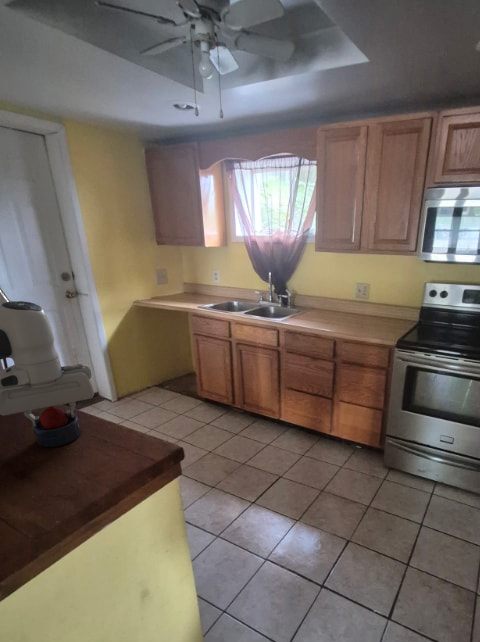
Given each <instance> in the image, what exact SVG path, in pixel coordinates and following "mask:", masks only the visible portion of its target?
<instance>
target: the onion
mask: <svg viewBox="0 0 480 642" xmlns="http://www.w3.org/2000/svg"><path fill="white" fill-rule="evenodd" d="M39 418H40V423H41V425H42V427H43V428H45V429H47V430H53V429H58V428H61V427H64V426H66V424H67V422H68V418H67V415H66V411H65V410H63V409H62V408H61V407H57V406H51V407H46V408H45V409H44V410H43V411H42V412H41V415H40V416H39Z"/></svg>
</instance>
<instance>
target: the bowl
mask: <svg viewBox="0 0 480 642" xmlns="http://www.w3.org/2000/svg"><path fill="white" fill-rule="evenodd" d="M73 414H74V418H69V419H68V422H67V424H66V426H64V427H61V428H58V429H53V430H47V429H45V428H43V427H42V425H36V426H34V425H33V424H32V425H31V428H32V431H33V434H34V437H35V441H36V443H37V445H39V446H40V447H46V448H56V447H62V446H65V445H68V444H70V443H72V442H74V441H75V440H76V439H78V437H80V436H81V433H82V429H81V425H80V421H79V418H78V417H79V416H77V414H76V413H74V412H73ZM66 415H67V414H66Z"/></svg>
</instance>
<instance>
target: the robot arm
mask: <svg viewBox="0 0 480 642" xmlns="http://www.w3.org/2000/svg"><path fill="white" fill-rule="evenodd" d="M54 342H55V338H54V334H53V330H52V327H51V324H50V321H49V318H48V316H47V313H46V312H45V310H44V309H43V307H41V306H40V305H39V304H37V303H34V302H30V301H22V300H18V301H17V300H15V301H13V300H12V299H11V298H10V297H9V295H8V294H7V293H6V291H5V290H4V289H3V288H2V286H1V285H0V361H1V360H5V359H11V360H12V362H13V364H12V365H11V366H8V367H5V368H3V369H1V370H0V415H1V416H3V417H4V416H9V415H14V414H19V413H23V415H24V417H26V418H27V419H29V420H30V421H31V422H32V425H34V426H36V425H41V423H40V416H39V415H37V416H35V415H34V414H33V413H32V411H34V410H39V409H40V410H41V409H46V408H47V407H51V406H54V407H57V406H60V405H65V404H66V405H67V404H69V407H70V408H69V409H66V410H65V413H66V414H67V418H68V419H69V418H74V414H75V413H74V411H75V409H76V407H77V403H76V402H81V401H85V400H91V399H93V397H94V396H95V391H94V387H93V384H92V381H91V378H92V370H91V369H90V367H89V366H88V365H85V364H82V363H78V364H74V365H64V366H62V364H61V361H60V355H59V353H58V352H57V350H56V348H55V343H54ZM73 413H74V414H73Z"/></svg>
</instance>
